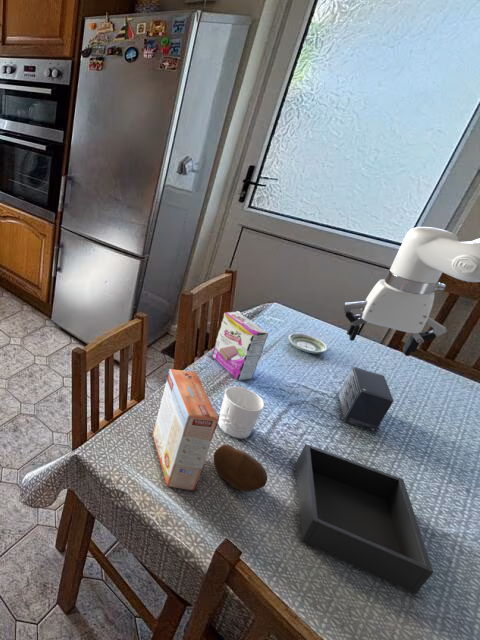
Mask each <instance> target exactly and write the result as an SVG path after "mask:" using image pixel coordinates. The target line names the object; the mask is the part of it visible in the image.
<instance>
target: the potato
mask: <svg viewBox="0 0 480 640" xmlns="http://www.w3.org/2000/svg"><path fill="white" fill-rule="evenodd" d="M213 465H214V468H215V469H216V472H217V473H218V474H219V475H220V477H221V478H222V479H223V480H224V481H225V482H226V483H228V484H229V485H231V487H233V488H234V489H236V490H238V491H239V492H240V491H241V492H253V491H257V490H260V489H262V488H264V487H265V486H266V485H267V481H268V474H267V471H266V469H265V468H264V466H263V465H262V464H261V462H259V461H257V459H255V458H254V457H253V456H251V455H250V454H248V453H247V452H245V451H243V450H240V449H237V448H235V447H234V446H232V445H230V444H228V443H226V444H222V445H220V446H219V447H218V448H217V449H216V450H215V451H214V454H213Z"/></svg>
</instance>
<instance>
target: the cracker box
mask: <svg viewBox="0 0 480 640" xmlns="http://www.w3.org/2000/svg"><path fill="white" fill-rule="evenodd" d="M218 421H219V417H218V414H217V413H216V410H215V409H214V406H213V404H212V402H211V400H210V398H209V396H208V394H207V391H206V389H205V388H204V386H203V383H202V381H201V379H200V376H199V375H198V373H197V371H192V370H184V369H183V370H181V369H174V368H173V369H172V368H169V371H168V374H167V378H166V382H165V386H164V390H163V393H162V398H161V401H160V405H159V409H158V413H157V417H156V420H155V425H154V428H153V432H152V438H153V441H154V445H155V448H156V451H157V456H158V459H159V462H160V466H161V469H162V473H163V477H164V480H165V484H166V486H167V487H169V488H175V489H176V488H177V489H182V490H190V491H195V490H196V487H197V484H198V481H199V479H200V475H201V472H202V470H203V466H204V464H205V461H206V458H207V455H208V452H209V450H210V446H211V444H212V441H213V438H214V435H215V433H216V429H217V427H218V425H219V424H218Z"/></svg>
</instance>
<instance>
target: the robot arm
mask: <svg viewBox="0 0 480 640" xmlns="http://www.w3.org/2000/svg"><path fill="white" fill-rule="evenodd" d="M442 274H445V275H447V276H449V277H452V278H455V279H456V280H459V281H463V282H467V283H480V238H477V239H474V240H471V241H459V237H458V236H457V234H455V233H453V232H452V231H449V230H445V229H441V228H437V227H431V226H417V227H413V228H411V229H409V230H408V231H407V233H406V235H405V237H404V239H403V241H402V243H401V245H400V247H399V249H398V251H397V254H396V256H395V257H394V260H393V262H392V264H391V266H390V268H389V270H388V273H387V274H386V276H385V279H379V280H378V281H377V282H376V284H375V285H374V286H373V288H372V289H371V290H370V292H369V294H368V295H367V296H366V298H365V300H364V301H352V302H343V303H342V308H343V311H344V314H345V317H346V319H347V320H348V321H349V322H350V324H349V326H348V329H347V331H346V335H348V336H349V337H348V338H349V341H351V342H353V341H355V339H356V337H357V335H358V333H359V332H360V325H364V324H366V323H369V324H373V325H377V326H380V327H384V328H388V329H392V330H396V331H400V332H404V333H408V334H411V335H409V336H408V338H407V340H406V341H405V344H404V345H403V347H402V351H403V355H404V356H406V357H409V356H410V355H411V353H412V354H413V353H415V352H416V350H417V349H418V347H419V345H420V344H423V343H424V342H426V341H427V342H428V341H430V340H435V339H437V337H440V336H442V335H443V334H445V333H447V328H446V327H445V326H444V325H443V324H441V323H439V322H438V321H436V320H435V319H433V318H432V317H430V315H431V311H432V308H433V305H434V300H435V296H436V295H435V292H436V291H438V290H439V291H444V290H445V289H446V284H444V283H441V282H439V280H440V278H441V276H442ZM434 291H435V292H434ZM358 309H360V313H359V314H356V315H355V314H354V313H353V311H352V310H358ZM426 325H428V326H429V327H430V328H432V329H431V330H427V331H423V329H424V328H425V326H426ZM422 331H423V332H422Z"/></svg>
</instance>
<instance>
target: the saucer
mask: <svg viewBox="0 0 480 640" xmlns="http://www.w3.org/2000/svg"><path fill="white" fill-rule="evenodd" d="M288 341H289V342H290V343H291V345H292V346H293V347H294V348H296V349H298V350H300V351H301V352H302V351H303V352H304V353H310V354H322V353H325V352H327V351H328V346H327V344H326V342H324V341H322V340H321V339H319V338H317V337H315V336H312V335H309V334H305V333H300V332H299V333H295V332H294V333H290V334H289V335H288Z"/></svg>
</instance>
